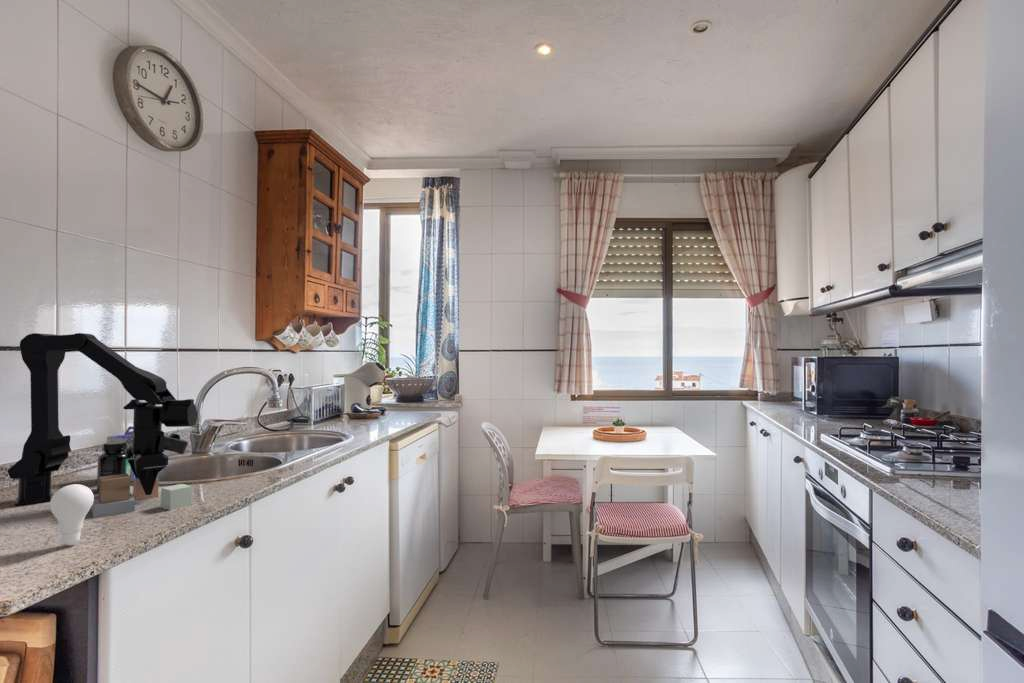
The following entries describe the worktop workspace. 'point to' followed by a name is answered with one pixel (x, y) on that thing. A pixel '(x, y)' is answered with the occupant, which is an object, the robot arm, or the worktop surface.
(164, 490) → the sage block
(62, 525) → the lightbulb
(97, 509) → the slate base block
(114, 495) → the walnut cube
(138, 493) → the terracotta block
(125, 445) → the supplement bottle
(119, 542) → the worktop surface
